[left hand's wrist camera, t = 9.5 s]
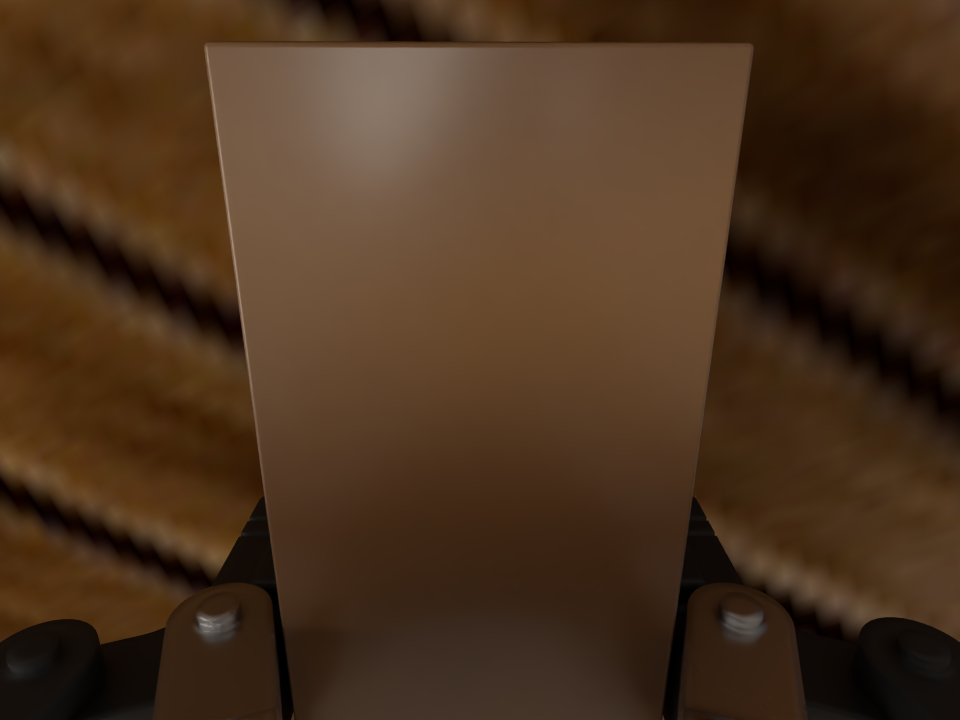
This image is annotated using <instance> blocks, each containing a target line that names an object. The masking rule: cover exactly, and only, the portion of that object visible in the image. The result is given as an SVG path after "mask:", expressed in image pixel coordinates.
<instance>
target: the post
mask: <svg viewBox="0 0 960 720" xmlns="http://www.w3.org/2000/svg"><path fill="white" fill-rule="evenodd" d="M204 51H205V59H206V66H207V74H208V81H209V88H210V96H211V103H212V111H213V118H214V126H215V133H216V140H217V148H218V155H219V163H220V170H221V177H222V185H223V192H224V200H225V207H226V214H227V222H228V229H229V237H230V244H231V252H232V259H233V266H234V274H235V281H236V289H237V296H238V303H239V311H240V318H241V326H242V333H243V340H244V348H245V355H246V363H247V370H248V378H249V385H250V392H251V400H252V407H253V415H254V422H255V429H256V437H257V444H258V452H259V459H260V466H261V474H262V481H263V489H264V496H265V504H266V511H267V518H268V526H269V533H270V541H271V548H272V555H273V563H274V570H275V578H276V585H277V592H278V600H279V607H280V615H281V622H282V630H283V637H284V644H285V652H286V659H287V667H288V674H289V681H290V689H291V696H292V704H293V711H294V718H295V720H662V716H663V709H664V702H665V694H666V687H667V680H668V672H669V665H670V658H671V650H672V643H673V636H674V628H675V621H676V614H677V607H678V599H679V592H680V585H681V577H682V570H683V563H684V555H685V548H686V541H687V533H688V526H689V519H690V512H691V504H692V497H693V490H694V482H695V475H696V468H697V460H698V453H699V446H700V438H701V431H702V424H703V417H704V409H705V402H706V395H707V387H708V380H709V373H710V365H711V358H712V351H713V344H714V336H715V329H716V322H717V314H718V307H719V300H720V292H721V285H722V278H723V270H724V263H725V256H726V249H727V241H728V234H729V227H730V219H731V212H732V205H733V197H734V190H735V183H736V175H737V168H738V161H739V154H740V146H741V139H742V132H743V124H744V117H745V110H746V102H747V95H748V88H749V80H750V73H751V66H752V59H753V51H754V48H753V44H751V43H749V42H362V41H209V42H207V43H205V46H204Z"/></svg>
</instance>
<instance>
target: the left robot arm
mask: <svg viewBox="0 0 960 720" xmlns="http://www.w3.org/2000/svg"><path fill="white" fill-rule="evenodd" d="M293 712H294V711H293V704H292V696H291V689H290V681H289V674H288V667H287V659H286V652H285V644H284V637H283V630H282V622H281V615H280V607H279V600H278V592H277V585H276V578H275V570H274V563H273V555H272V548H271V541H270V533H269V526H268V518H267V511H266V504H265V496H264V497H263V498H261V499H260V500H259V502H258V504H257V506H256V507H255V509H254V511H253V513H252V515H251V516H250V521H248V522H247V524H246V525H245V527H244V529H243V531H242V533H241V537H239V538H238V540H237V541H236V543H235V545H234V547H233V549H232V550H231V552H230V554H229V556H228V558H227V559H226V561H225V563H224V565H223V567H222V568H221V570H220V572H219V574H218V575H217V577H216V579H215V581H214V583H213V584H212V586H211V587H209V588H207V589H204V590H202V591H200V592H198V593H195V594H194V595H192V596H190V597H189V598H187V599H186V600H185V601H183V602H182V603H181V604H180V605H179V606H178V607H177V608H176V609H175V610H174V611H173V612H172V614H171V615H170V617H169V619H168V621H167V623H166V627H165V628H163V629H160V630H157V631H154V632H151V633H148V634H144V635H140V636H136V637H132V638H127V639H123V640H119V641H114V642H110V643H106V644H101V645H100V642H99V638H98V635H97V632H96V630H95V629H94V628H93V626H91V625H90V624H88V623H86V622H83V621H80V620H74V619H62V620H53V621H49V622H44V623H41V624H37V625H34V626H31V627H29V628H26V629H24V630H22V631H20V632H18V633H16V634H14V635H12V636H10V637H8V638H7V639H5V640H3V641H2V642H0V720H291V718H292V715H293ZM663 716H664V719H665V720H960V642H958V641H957V640H956V639H954V638H953V637H951V636H949V635H947V634H946V633H944V632H942V631H940V630H938V629H936V628H934V627H931V626H929V625H926V624H923V623H920V622H917V621H913V620H909V619H904V618H896V617H884V618H877V619H874V620H871V621H870V622H868V623H866V624H865V625H864V626H863V628H862V629H861V632H860V635H859V639H858V643H857V644H854V643H850V642H845V641H841V640H837V639H832V638H828V637H824V636H819V635H815V634H811V633H807V632H804V631H801V630H798V629H795V627H794V624H793V621H792V619H791V617H790V615H789V614H788V612H787V611H786V610H785V609H784V608H783V607H782V606H781V605H780V604H779V603H778V602H777V601H775V600H774V599H773V598H771V597H769V596H768V595H766V594H765V593H762V592H760V591H758V590H756V589H753V588H751V587H748V586H744V585H743V583H742V581H741V579H740V578H739V576H738V574H737V572H736V570H735V569H734V567H733V565H732V563H731V561H730V559H729V558H728V556H727V554H726V552H725V550H724V549H723V547H722V545H721V543H720V541H719V539H718V538H717V536H715V534H714V530H713V529H712V527H711V525H710V523H709V521H706V516H705V514H704V512H703V510H702V509H701V507H700V505H699V503H698V501H697V500H696V498H694V497H692V504H691V512H690V519H689V526H688V533H687V541H686V548H685V555H684V563H683V570H682V577H681V585H680V592H679V599H678V607H677V614H676V621H675V628H674V636H673V643H672V650H671V658H670V665H669V672H668V680H667V687H666V694H665V702H664V709H663Z"/></svg>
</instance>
